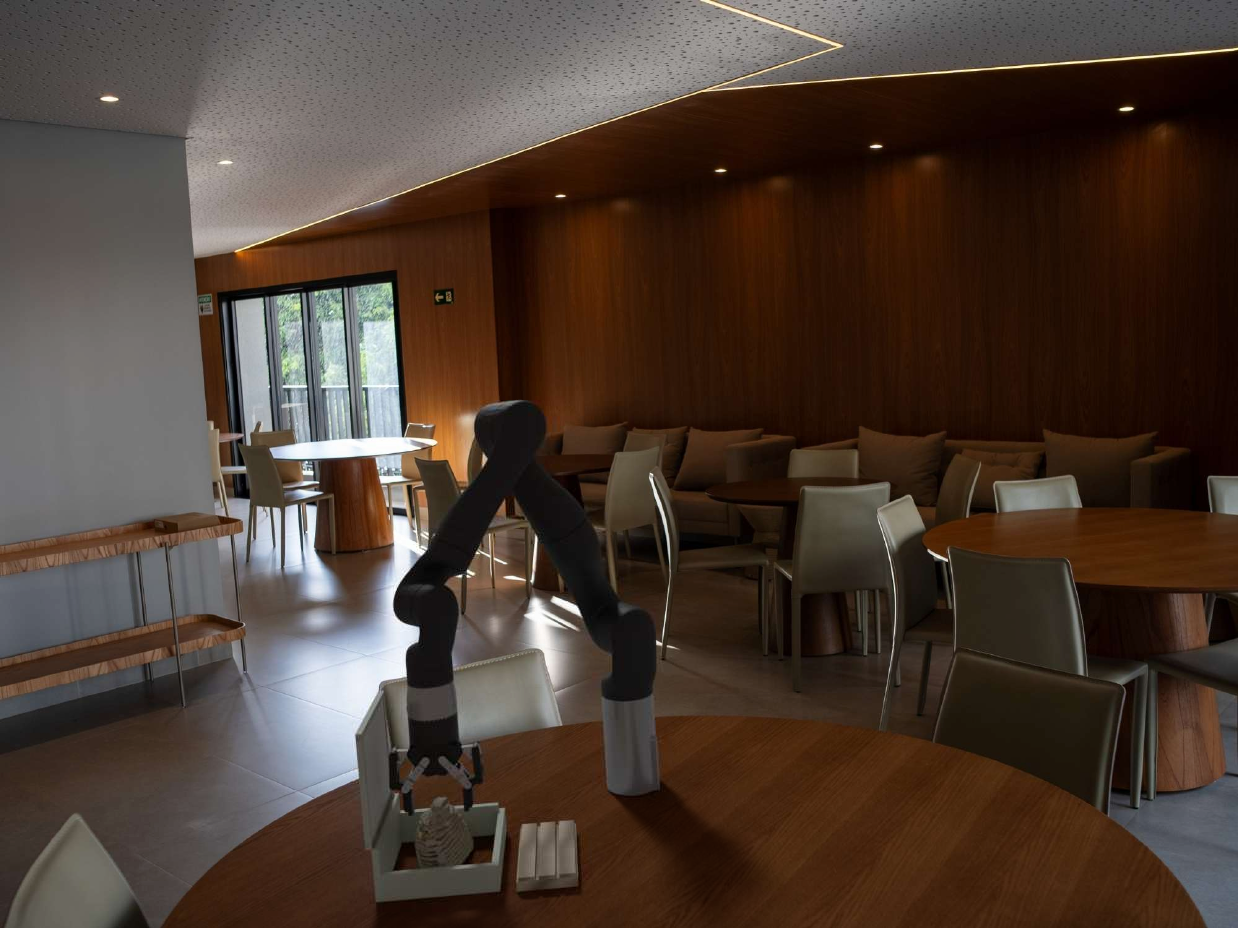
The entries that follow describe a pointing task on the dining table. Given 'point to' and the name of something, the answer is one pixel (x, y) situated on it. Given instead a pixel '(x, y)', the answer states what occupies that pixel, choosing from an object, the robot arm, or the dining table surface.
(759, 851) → the dining table surface
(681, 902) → the dining table surface
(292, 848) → the dining table surface
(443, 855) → the fossil tooth
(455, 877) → the cold frame
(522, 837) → the slatted stand
